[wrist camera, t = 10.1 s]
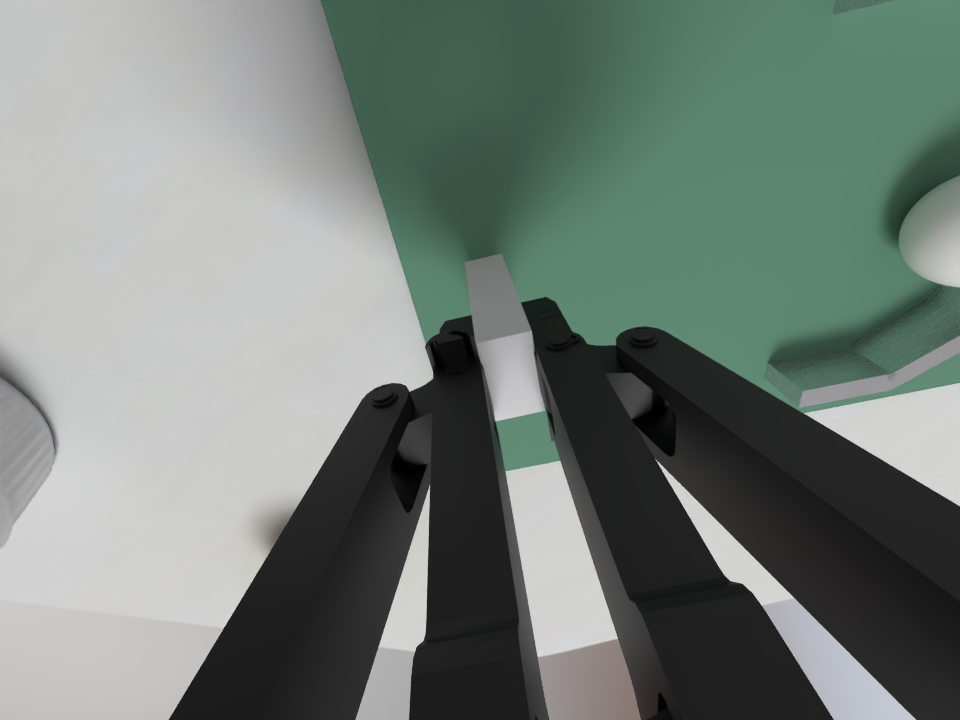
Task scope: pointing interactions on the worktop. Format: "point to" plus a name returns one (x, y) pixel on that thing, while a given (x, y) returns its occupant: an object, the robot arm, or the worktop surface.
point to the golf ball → (934, 235)
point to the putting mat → (661, 165)
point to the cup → (874, 341)
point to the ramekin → (21, 455)
